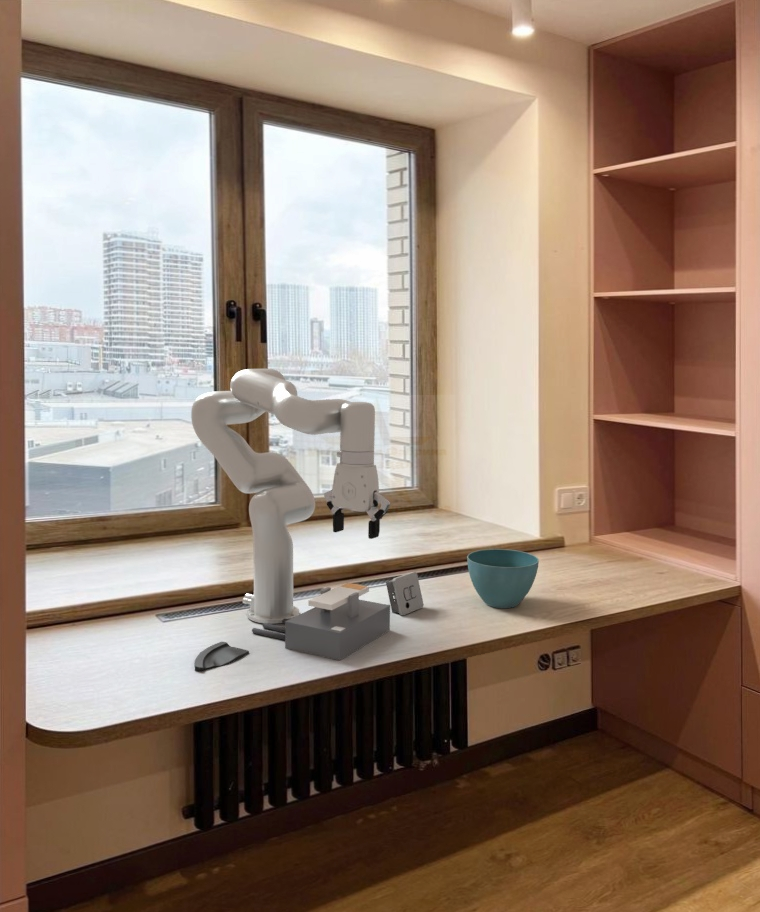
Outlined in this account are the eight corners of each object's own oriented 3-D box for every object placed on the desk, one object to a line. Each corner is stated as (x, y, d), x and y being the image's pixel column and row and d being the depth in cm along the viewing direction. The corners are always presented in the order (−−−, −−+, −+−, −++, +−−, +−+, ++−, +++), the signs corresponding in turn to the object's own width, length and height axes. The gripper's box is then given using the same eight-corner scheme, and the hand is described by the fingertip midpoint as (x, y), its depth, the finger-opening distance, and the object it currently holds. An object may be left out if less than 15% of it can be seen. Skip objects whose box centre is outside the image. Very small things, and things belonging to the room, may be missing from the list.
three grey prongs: (250, 633, 187) (250, 628, 186) (277, 620, 195) (277, 616, 195) (294, 643, 181) (294, 638, 180) (319, 629, 189) (320, 624, 189)
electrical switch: (402, 617, 200) (400, 579, 199) (385, 614, 203) (383, 577, 202) (424, 608, 207) (422, 572, 207) (408, 605, 210) (406, 570, 210)
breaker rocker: (308, 605, 177) (308, 599, 177) (346, 587, 191) (346, 582, 191) (331, 610, 174) (331, 604, 174) (369, 591, 188) (369, 586, 188)
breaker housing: (285, 648, 178) (285, 599, 176) (338, 619, 197) (339, 575, 195) (339, 660, 171) (340, 609, 170) (389, 630, 190) (390, 584, 189)
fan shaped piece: (177, 668, 167) (177, 661, 167) (220, 648, 179) (220, 641, 178) (208, 677, 163) (208, 669, 163) (251, 655, 175) (251, 648, 174)
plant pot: (543, 615, 203) (545, 567, 201) (470, 614, 202) (471, 566, 201) (529, 593, 221) (531, 549, 219) (462, 592, 220) (463, 548, 219)
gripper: (315, 456, 181) (314, 531, 183) (379, 463, 171) (378, 543, 174) (336, 453, 187) (335, 526, 189) (399, 460, 177) (397, 537, 180)
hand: (355, 534), depth 181 cm, fingers open, 9 cm apart
